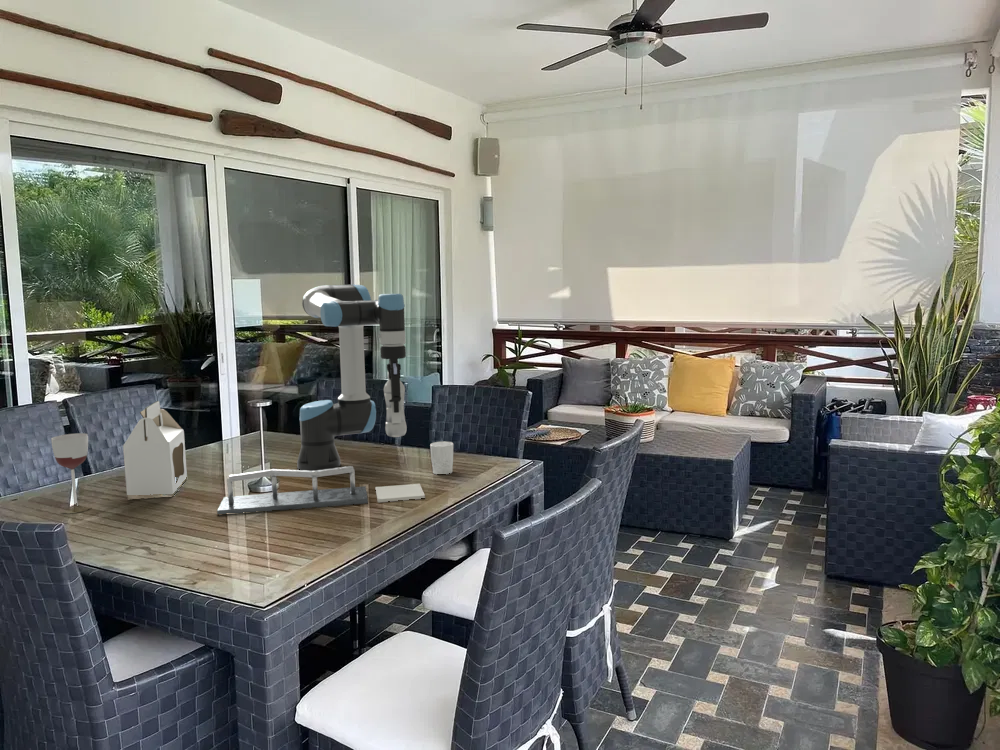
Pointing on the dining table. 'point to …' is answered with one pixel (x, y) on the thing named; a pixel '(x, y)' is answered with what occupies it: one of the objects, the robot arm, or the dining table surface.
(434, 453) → the white cup
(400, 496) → the pad
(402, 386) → the plastic bottle
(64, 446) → the wineglass
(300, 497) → the grey platform with railing
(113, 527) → the dining table surface
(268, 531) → the dining table surface
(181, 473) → the gable box
